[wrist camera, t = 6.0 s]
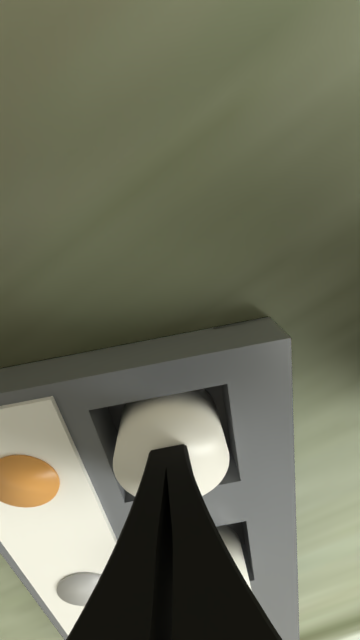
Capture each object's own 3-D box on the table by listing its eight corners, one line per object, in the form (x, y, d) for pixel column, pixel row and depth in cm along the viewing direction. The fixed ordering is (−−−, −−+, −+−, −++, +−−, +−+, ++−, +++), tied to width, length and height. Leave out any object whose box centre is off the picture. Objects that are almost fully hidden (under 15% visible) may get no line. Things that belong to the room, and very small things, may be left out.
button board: (269, 316, 11) (295, 341, 9) (287, 609, 20) (302, 656, 18) (-60, 380, 11) (-112, 419, 9) (104, 642, 20) (97, 693, 18)
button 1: (210, 370, 12) (222, 408, 9) (222, 445, 13) (235, 492, 11) (109, 389, 12) (97, 431, 9) (134, 462, 13) (129, 512, 11)
